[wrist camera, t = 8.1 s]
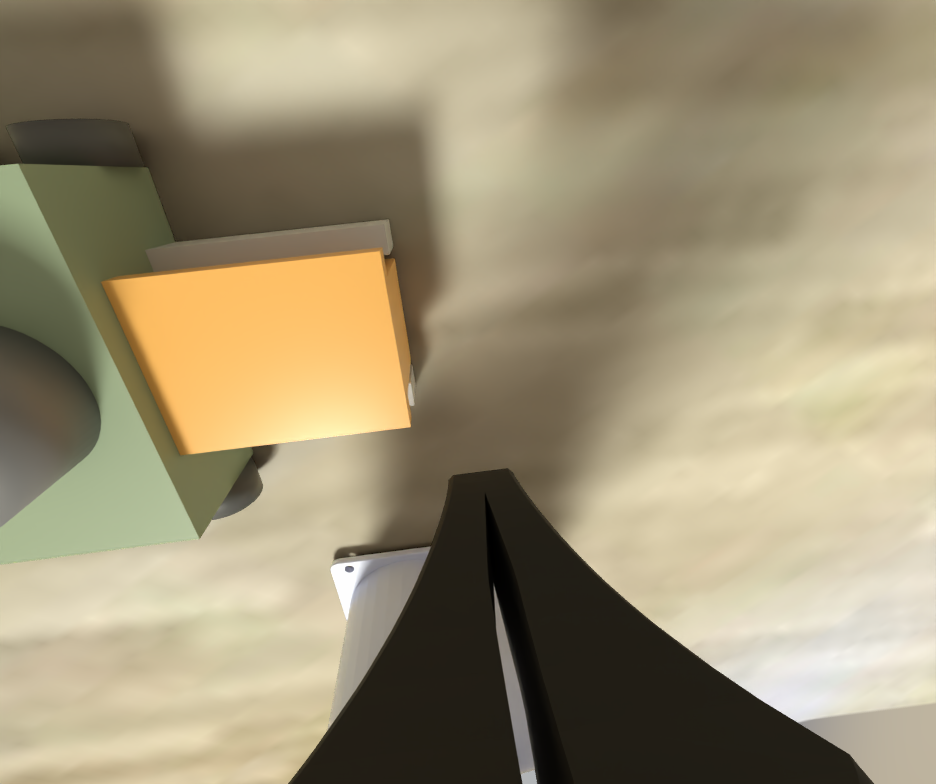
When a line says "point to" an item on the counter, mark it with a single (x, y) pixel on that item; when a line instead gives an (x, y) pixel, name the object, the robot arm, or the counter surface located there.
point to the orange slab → (270, 348)
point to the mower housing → (105, 349)
